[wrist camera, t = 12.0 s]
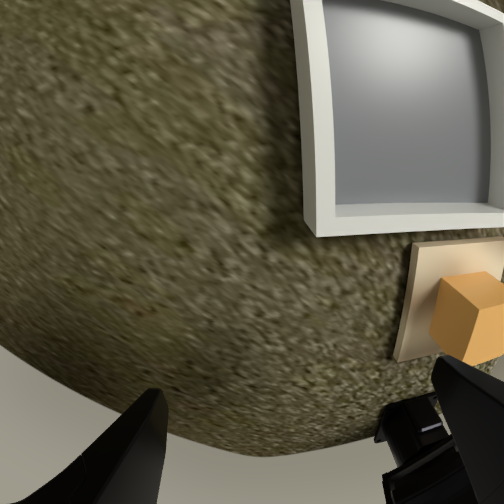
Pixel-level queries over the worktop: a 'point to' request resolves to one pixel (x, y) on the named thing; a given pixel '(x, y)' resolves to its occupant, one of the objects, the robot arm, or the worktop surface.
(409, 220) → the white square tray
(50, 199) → the worktop surface
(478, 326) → the block
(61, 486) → the robot arm
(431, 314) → the pad
